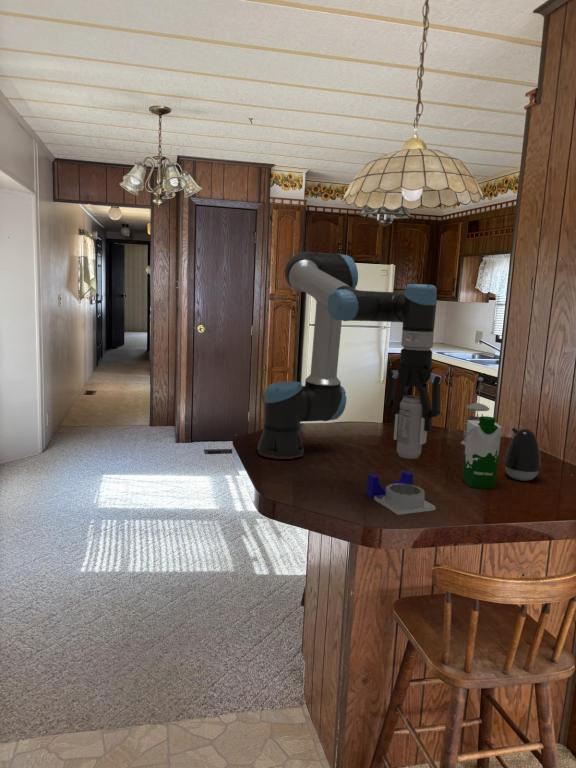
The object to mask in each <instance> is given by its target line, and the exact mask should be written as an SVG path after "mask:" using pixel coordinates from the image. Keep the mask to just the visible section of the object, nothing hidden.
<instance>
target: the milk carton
mask: <svg viewBox="0 0 576 768" xmlns="http://www.w3.org/2000/svg"><path fill="white" fill-rule="evenodd" d="M479 417H480V421H475V420H468V419H467V420H466V421H467V426H466V427H467V430H466V431H467V433H465V434H466V436H465V437H466V444H465V445H464V455H463V465H462V466H463V467H462V468H463V469H462V470H463V471H462V472H463V473H462V480H463V481H464V483H465V484H466V485H467V486H468V487H469V488H471V489H473V488H474V489H475V488H477V489H493V490H494V489H495V488H496V487H495V485H496V480H497V479H496V478H497V475H498V473H497V472H498V465H499V454H500V445H501V437H502V430H503V426H501V425H500V424H499V423H497V422H496V418H495V417H493V416H492V417H491V416H484V415H483V416H482V415H480V416H479Z"/></svg>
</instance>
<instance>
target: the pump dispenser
mask: <svg viewBox="0 0 576 768" xmlns="http://www.w3.org/2000/svg"><path fill="white" fill-rule="evenodd" d="M511 431H512V432H513V433H514V435H513V437H512V438H511V440H510V443H509V444H508V447H507V449H506V453H505V456H504V460H503V465H504V468H505V472H506V473H507V475H508V476H509V477H510V478H512V479H514V480H516V481H521V482H522V481H523V482H525V481H532V480H534V479H535V478H536V477H537V476H538V474H539V471H541V468H542V465H541V464H542V462H541V452H540V447H539V442H538V438H537V437H536V435H535V433H534V432H533V431H532V430H530V429H528V428H522V429H519V430H518V429H517V428H516V427H513V428H512V429H511Z"/></svg>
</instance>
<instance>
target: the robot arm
mask: <svg viewBox="0 0 576 768" xmlns="http://www.w3.org/2000/svg"><path fill="white" fill-rule="evenodd" d="M283 275H284V280H285V281H286V283H287V284H288V286H289V287H291V288H292V289H294V290H295V291H297V292H300V293H304V292H305V293H306V294H307V295H309V296H310V297H312V298H313V299H314V300H315V302H316V303H315V316H314V327H313V340H312V349H311V350H312V351H311V353H312V354H311V364H310V365H311V366H310V374H309V375H308V376H307V377H306V378H305V380H304V381H305V382H304V385H302V383H301V382H299V381H296V380H293V381H292V380H291V381H288V380H287V381H277V382H274V383H270V384H269V385H268V386H266V388H265V393H264V399H263V401H264V409H263V429H262V432H261V436H260V439H259V441H258V444H257V448H256V450H257V449H258V451H260V452H262V453H265V454H268V455H274V456H287V457H290V456H298V455H301V454H303V453H305V448H304V444H303V440H302V437H301V433H300V425H301V424H300V423H302V422H329V421H334V420H337V419H339V418H340V417H341V416H342V415H343V413H344V411H345V409H346V404H347V395H346V392H347V391H346V390H345V388H344V387H343V386H342V385H341V383H342V382H341V380H340V379H339V378H338V377H337V376H338V366H339V365H338V364H339V355H340V342H341V334H342V333H341V332H342V322H354V321H355V322H380V323H381V322H385V323H402V330H401V346H402V347H403V348H401V350H400V357H399V358H400V359H399V367H398V369H395V370H394V369H393V370H389V371H387V372H386V373H387V378H388V384H387V389H386V390H387V392H386V396H385V397H386V398H385V405H384V407H385V410H387V411H389V412H391V425H392V426H393V427H394V430H393V440H396V441H397V439H398V425H399V411H400V402H401V400H402V399H403V396H405V395H407V393H408V390H409V389H410V388H411V387H414V388H416V389H417V391H418V393H419V396H420V399H421V403H422V408H423V412H424V417H423V418H421V426H420V439H419V444H421V445H422V446H423V445H424V444H426V443H427V435H428V432H429V431H431V428H432V419H433V418H436V417H438V416H440V414H441V384H442V382H443V380H444V377H443V375H438V374H436V373H433V371H432V362H433V360H432V359H433V351H432V350H431V349H433V347H434V334H435V333H434V331H435V322H436V321H435V320H436V311H437V304H438V301H437V287H436V286H435V285H433V284H424V283H423V284H421V283H410V284H406V285H405V288H404V292H398V291H397V292H395V291H376V290H375V291H373V290H359V289H356V287H357V286H358V282H359V272H358V268H357V264H356V263H355V260H354V259H353V258H352V256H349V255H346V254H343V253H342V254H341V253H331V252H327V253H326V252H314V251H302V252H298V253H296V254H295V255H293V256H291V257H290V258H289V259H288V261H287V262H286V264H285V267H284V272H283ZM399 377H400V379H401V380H402V381H401V383H400V387H399V390H398V392H397V396H396V391H397V383H398V378H399ZM430 379H431V380H430ZM429 380H430V381H431V383H432V387H431V401H430V396H429V392H428V385H427V383H428V381H429Z"/></svg>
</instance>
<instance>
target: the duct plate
mask: <svg viewBox="0 0 576 768" xmlns="http://www.w3.org/2000/svg"><path fill="white" fill-rule="evenodd" d="M385 487H386V493H385V495H377V496H374V499H373V500H374V501H376V502H377V503H379V504H380V505H382V506H383V507H385V508H387V509H388V510H390V511H391V512H392V513H394V514H396V515H397V516H400V515H408V514H417V513H424V512H431V511H436V505H434V504H432V503H430V502H429V501H427V500H425V498H426V497H425V496H426V495H425V494H426V492H425V489H423V488H421V487H420V486H418V485H414V484H412V485H410V484H402V483H396V484H392V483H390V484H388V485H386V486H385Z"/></svg>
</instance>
